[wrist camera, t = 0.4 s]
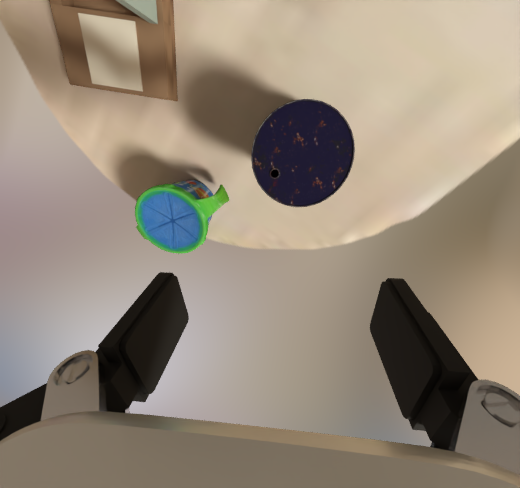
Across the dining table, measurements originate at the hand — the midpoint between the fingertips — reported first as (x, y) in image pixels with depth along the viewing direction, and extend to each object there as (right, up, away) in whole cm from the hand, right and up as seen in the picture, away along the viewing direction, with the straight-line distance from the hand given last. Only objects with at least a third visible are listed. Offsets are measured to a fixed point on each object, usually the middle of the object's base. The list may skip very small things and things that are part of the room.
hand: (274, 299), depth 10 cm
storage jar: (+5, +18, +24) cm, 30 cm away
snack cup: (-12, +11, +30) cm, 34 cm away
